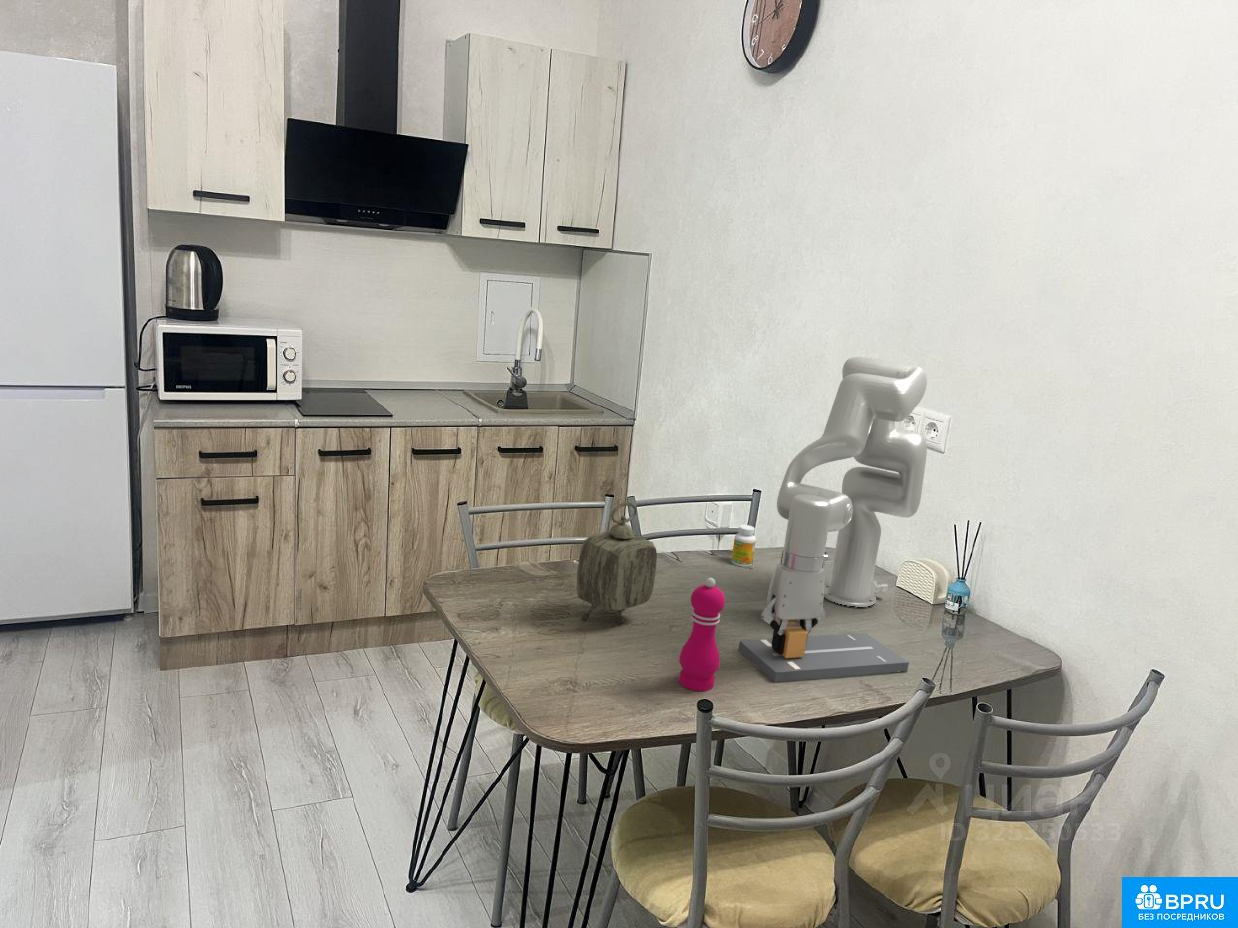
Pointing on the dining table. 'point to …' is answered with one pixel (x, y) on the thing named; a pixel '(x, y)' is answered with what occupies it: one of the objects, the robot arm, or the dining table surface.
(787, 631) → the fader knob
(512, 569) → the dining table surface
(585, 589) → the tabletop clock
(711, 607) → the pepper mill
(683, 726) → the dining table surface
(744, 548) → the supplement bottle
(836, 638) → the fader console
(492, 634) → the dining table surface
